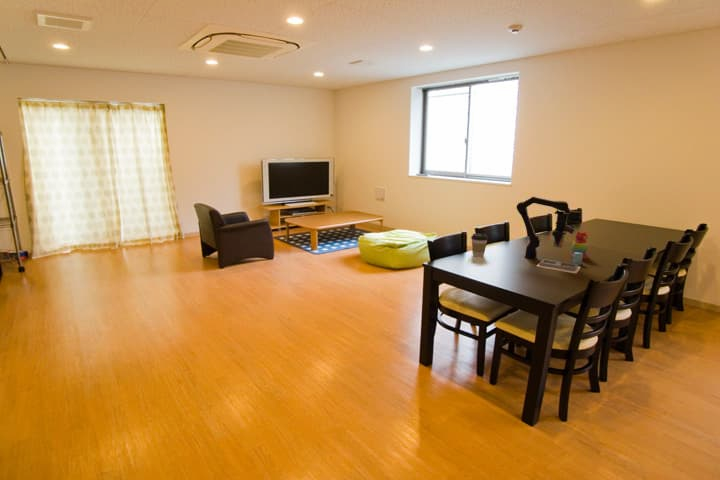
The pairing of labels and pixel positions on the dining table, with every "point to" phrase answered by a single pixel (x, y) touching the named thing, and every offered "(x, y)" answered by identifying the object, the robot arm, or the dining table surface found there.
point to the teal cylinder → (577, 258)
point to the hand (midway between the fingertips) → (558, 244)
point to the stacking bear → (580, 244)
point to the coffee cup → (479, 244)
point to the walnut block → (559, 243)
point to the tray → (559, 266)
